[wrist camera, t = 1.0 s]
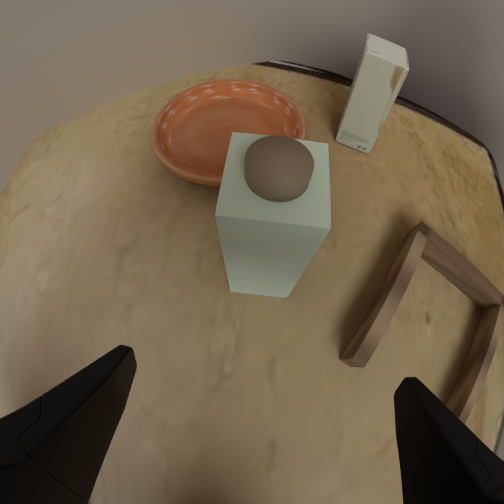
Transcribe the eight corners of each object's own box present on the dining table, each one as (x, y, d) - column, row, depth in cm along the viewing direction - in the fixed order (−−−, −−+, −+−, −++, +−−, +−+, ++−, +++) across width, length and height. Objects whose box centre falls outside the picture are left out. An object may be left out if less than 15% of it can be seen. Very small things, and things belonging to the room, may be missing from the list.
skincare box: (369, 156, 29) (410, 72, 18) (333, 142, 29) (363, 52, 18) (374, 122, 31) (407, 47, 20) (342, 110, 32) (368, 31, 20)
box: (443, 425, 19) (461, 428, 16) (339, 359, 21) (352, 359, 19) (491, 307, 23) (508, 300, 20) (406, 234, 26) (421, 221, 23)
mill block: (286, 298, 23) (337, 217, 10) (230, 291, 23) (212, 202, 10) (290, 246, 25) (332, 129, 12) (238, 240, 25) (231, 117, 12)
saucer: (249, 82, 34) (250, 65, 31) (330, 156, 29) (337, 138, 26) (138, 129, 30) (131, 112, 27) (197, 228, 26) (192, 212, 23)
